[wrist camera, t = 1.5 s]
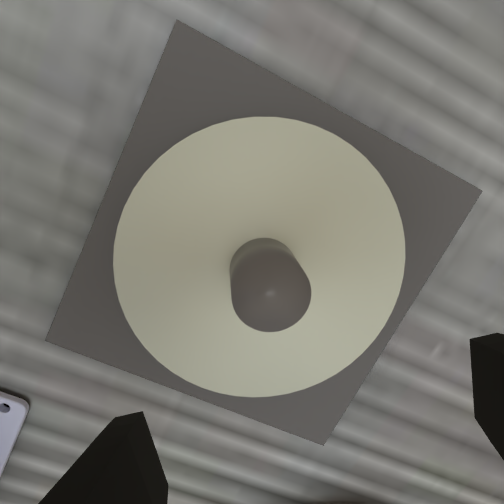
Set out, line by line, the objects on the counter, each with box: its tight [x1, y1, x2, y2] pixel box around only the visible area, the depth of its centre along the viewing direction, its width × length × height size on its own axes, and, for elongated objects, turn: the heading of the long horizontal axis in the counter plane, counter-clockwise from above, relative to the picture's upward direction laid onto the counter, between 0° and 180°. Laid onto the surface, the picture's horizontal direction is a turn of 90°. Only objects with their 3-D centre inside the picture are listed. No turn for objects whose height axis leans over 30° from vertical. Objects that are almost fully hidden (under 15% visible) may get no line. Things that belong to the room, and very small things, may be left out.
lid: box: [113, 117, 405, 397], centre depth 17 cm, size 13×13×4 cm
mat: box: [45, 20, 482, 446], centre depth 18 cm, size 15×15×1 cm
